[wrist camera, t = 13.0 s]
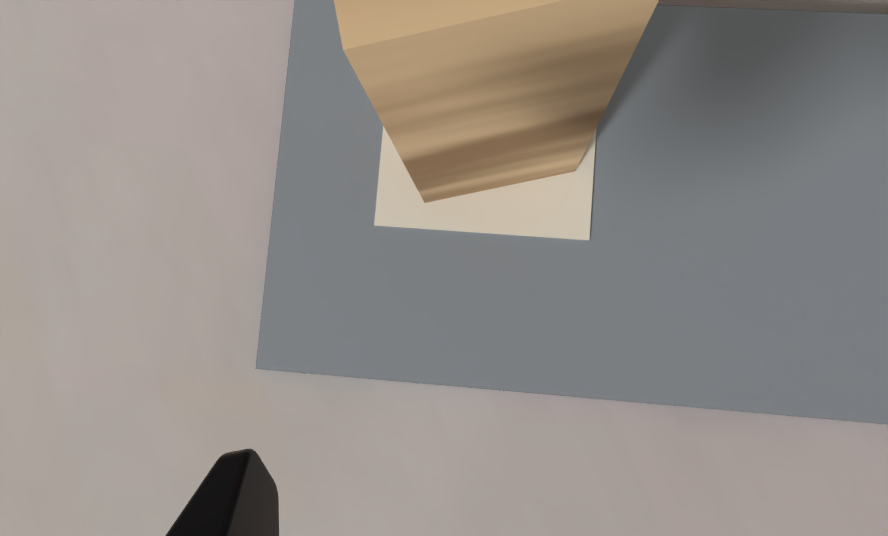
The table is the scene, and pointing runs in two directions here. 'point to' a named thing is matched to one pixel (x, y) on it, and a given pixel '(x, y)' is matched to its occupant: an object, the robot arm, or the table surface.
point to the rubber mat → (609, 230)
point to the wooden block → (489, 82)
